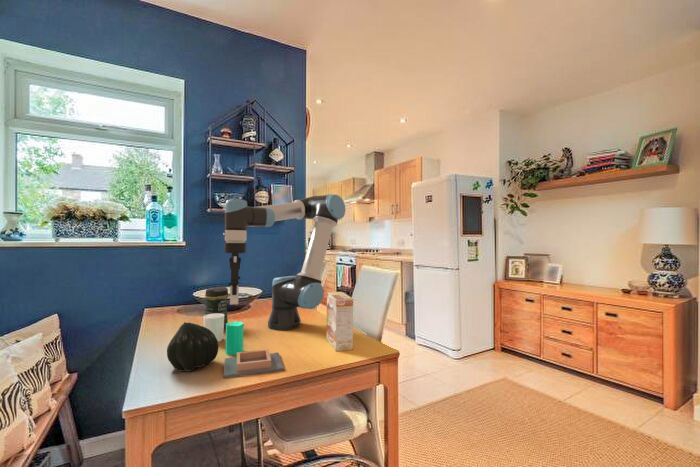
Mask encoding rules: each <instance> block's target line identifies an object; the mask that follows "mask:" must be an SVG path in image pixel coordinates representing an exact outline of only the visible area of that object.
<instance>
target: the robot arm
mask: <svg viewBox="0 0 700 467" xmlns="http://www.w3.org/2000/svg"><path fill="white" fill-rule="evenodd" d="M345 214H346V204H345V201H344V199H343V198H342V197H341V196H340V195H338V194H331V193H330V194H324V195H313V196H309V197H305V198H301V199H295V200H294V201H292V202H286V203H276V204H275V203H274V204H270V205H269V204H267V205H260V206H248V202H247V200H246V199H245V200H244V199H238V198H237V199H233V198H231V199H227V200H226V201H225V206H224V232H223V233H222V235H223V236H224V241H225V242H224V244H223V245H224V246H223V248H224V250H223V251H224V253H225V254H231V256H230V257H229V270H230V282H228V284H227V285H228V287H229V288H230V289H229V292H230V293H229V305H230V306H231V305H239V295H240V294H239V285H240V284H239V281H240V280H241V276H239V274H240V273H239V270H240V269H241V264H242V263H241V262H242V258H241V257H240V254H245V253H247V243H246V242H247V238H248V237H247V227H248V228H252V227H253V228H259V227H261V228H262V227H263V228H270V227H272V226H273V225H274V224H275V222H278V221H285V220H291V219H296V220H313V222H314V224H313V229H312V232H311V236H310V239H309V243H308V246H307V250H306V254H305V258H304V261H303V265H302V267H301V271H300V272H298V273H297V274H296V275H289V276H280V277H274V278H273V279H272V283H271V284H272V285H271V301H272V302H271V311H270V315H269V317H268V320H267V327H268V328H269V329H271V330H276V331H287V330H289V331H290V330H295V329H297V328H299V327H300V326H301V324H302V320H301V317H300V313H299V311H298V308H301V309H304V310H305V309H306V310H313V309H315V308H317V307H318V306H319V305H320V304H321V303H322V301H323V299H324V296H325V290H324V286H323V285H322V282H323V280H322V278H321V272H322V269H323V264H324V261H325V257H326V254H327V250H328V246H329V242H330V239H331V235H332V231H333V228H335V227H336V226H337V225H338V221H339V220H341V219H342V218H344V217H345Z"/></svg>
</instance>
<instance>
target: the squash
mask: <svg viewBox="0 0 700 467" xmlns="http://www.w3.org/2000/svg"><path fill="white" fill-rule="evenodd" d="M218 352H219V342H218V341H217V339H216V337H215V335H214V333H213V332H212V331H210V330H209V329H207V328H205V327H204V325H203V326H202V325H199V324H196V323H193V322H186V321H185V322H183V323H182V324H181V325H180V326H179V328H178V329H177V331H176V333H175V334H174V335H173V337H172V338H171V340H170V341H169V342H168V345H167V347H166V356H167V360H168V362H169V363H170V364H171V365H172V367H173V368H174V369H176V371H181V372H183V371H186V372H192V371H194V370H195V369H196V368H202V367H204V365H205V366H206V365H208V364H209V365H210V363H212V362H213V361H214V360H215V359H216V357H217V355H218Z"/></svg>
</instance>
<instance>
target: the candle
mask: <svg viewBox="0 0 700 467" xmlns="http://www.w3.org/2000/svg"><path fill="white" fill-rule="evenodd" d="M237 352H244V322H243V321H231V322H228V323H226V327H225V354H226V355H228V356H237Z"/></svg>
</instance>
